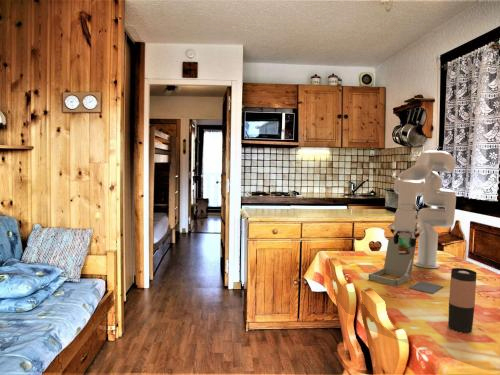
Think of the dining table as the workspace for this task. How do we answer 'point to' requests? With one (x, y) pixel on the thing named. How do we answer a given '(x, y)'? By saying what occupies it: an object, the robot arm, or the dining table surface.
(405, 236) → the food container
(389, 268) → the case
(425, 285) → the mat
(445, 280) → the dining table surface
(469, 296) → the travel mug
